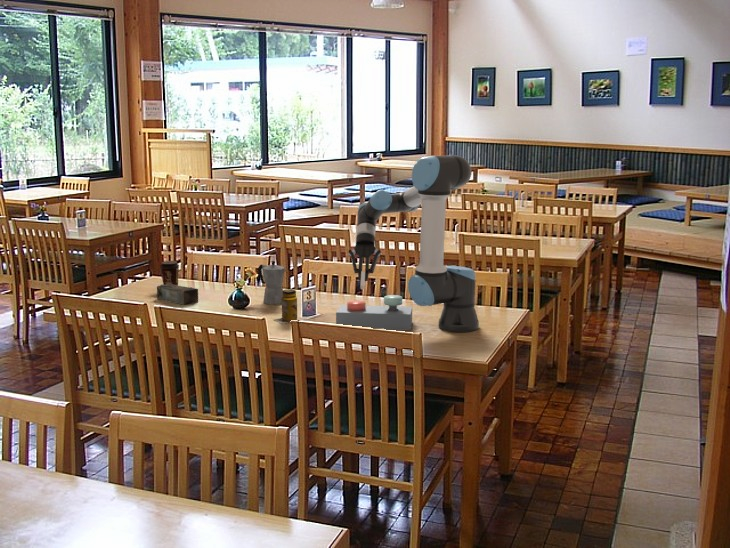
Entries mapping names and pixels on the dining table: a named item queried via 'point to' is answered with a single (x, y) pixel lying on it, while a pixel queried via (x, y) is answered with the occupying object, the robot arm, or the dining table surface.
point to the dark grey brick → (177, 294)
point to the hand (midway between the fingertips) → (362, 287)
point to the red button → (356, 305)
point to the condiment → (288, 306)
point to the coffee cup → (169, 272)
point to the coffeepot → (272, 282)
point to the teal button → (393, 301)
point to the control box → (376, 317)
